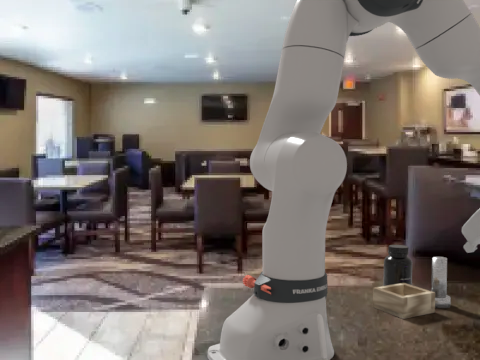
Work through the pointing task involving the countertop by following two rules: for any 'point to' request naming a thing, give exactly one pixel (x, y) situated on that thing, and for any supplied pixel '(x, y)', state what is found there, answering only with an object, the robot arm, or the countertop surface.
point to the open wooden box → (404, 300)
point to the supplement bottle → (397, 266)
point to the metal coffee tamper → (440, 282)
